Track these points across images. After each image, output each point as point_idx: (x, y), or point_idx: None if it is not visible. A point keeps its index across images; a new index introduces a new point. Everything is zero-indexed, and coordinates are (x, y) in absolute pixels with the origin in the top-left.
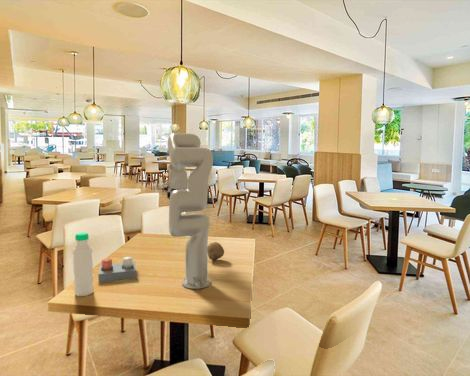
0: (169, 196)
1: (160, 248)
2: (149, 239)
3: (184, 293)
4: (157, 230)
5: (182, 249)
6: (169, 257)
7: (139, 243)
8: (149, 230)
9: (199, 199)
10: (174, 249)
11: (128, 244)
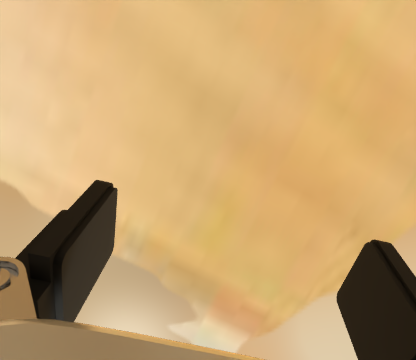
0: (409, 274)
1: (275, 175)
2: (263, 283)
3: None
4: None
5: (203, 120)
6: (299, 44)
7: (314, 261)
8: None
9: None
10: (232, 137)
11: None
